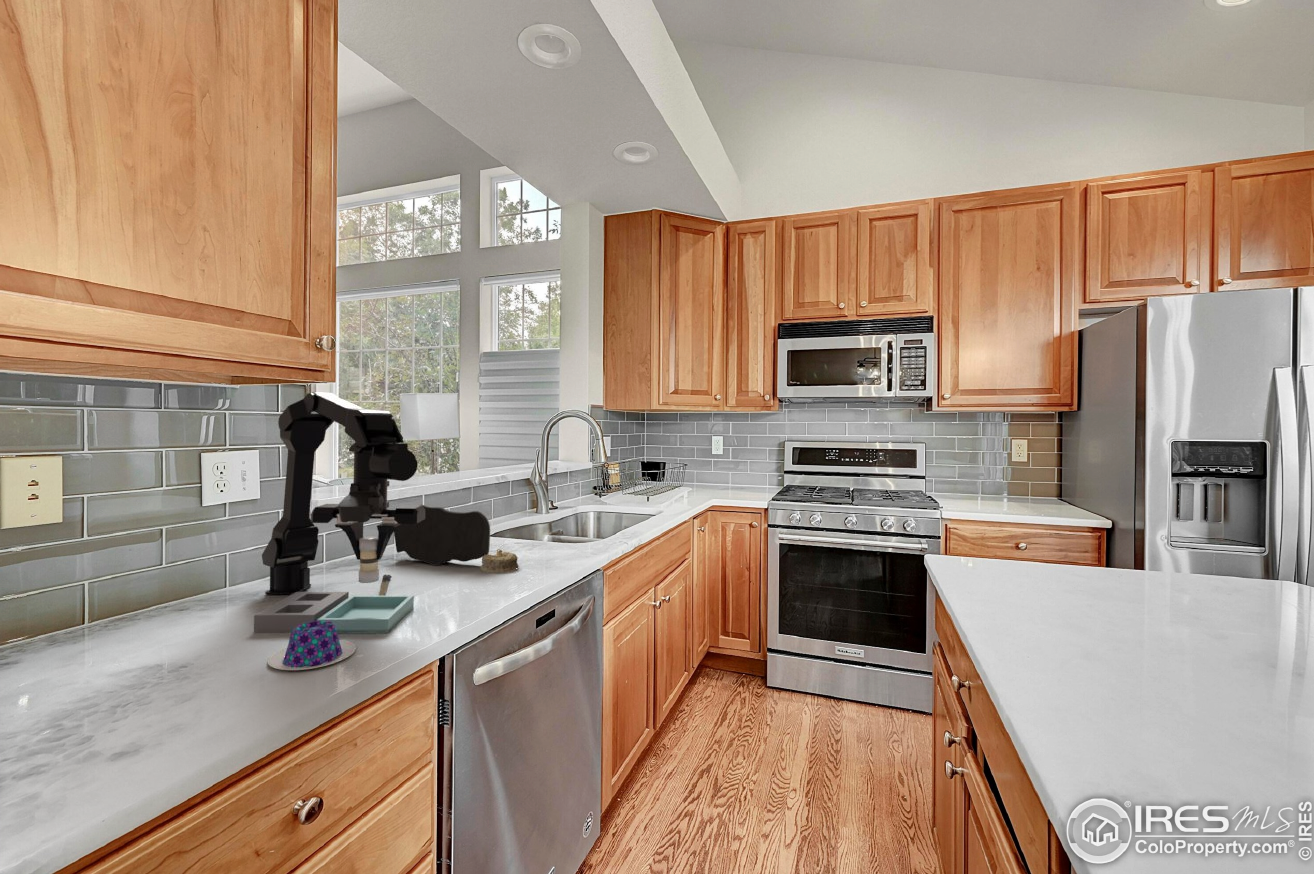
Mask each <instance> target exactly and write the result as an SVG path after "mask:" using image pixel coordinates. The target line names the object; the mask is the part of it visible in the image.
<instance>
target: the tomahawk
mask: <svg viewBox="0 0 1314 874" xmlns="http://www.w3.org/2000/svg"><path fill="white" fill-rule="evenodd" d="M391 578H393V577H392V575H391V574H383V575H382V579H381V584H380V589H379V592H378V594H377V596H386V593H387V590H388V587H389V584H390V581H391Z"/></svg>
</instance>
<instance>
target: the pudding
mask: <svg viewBox="0 0 1314 874" xmlns="http://www.w3.org/2000/svg"><path fill="white" fill-rule="evenodd" d="M356 648H357V646H356V645H355V643H353V642H350V641H347V640H343V639H342V640H341V639H340V638H339V635H338V634H337V630H336V627H335V625H334V624H332V622H330V621H314V622H307V623H303V624H302V625H298V626H296V627H295V628H294V629H293V631H292V632H290V637H289V641H288V643H287V647H285V648H283V649H281V650H279V651H276V652H275V653H273V654H272V655H271V656H270V657H269V658H268V659H267V664H268V665H269V666H270V667H271V668H274V669H276V670H283V671H302V670H311V669H312V670H313V669H318V668H321V667H325V666H330V665H332V664H336V663H338V662H340V661H343V660H345V659H347V658H348V657H350V656H352V655H353V654H354V653H355V651H356ZM284 656H285V657H284ZM308 666H309V667H308ZM289 667H291V668H289ZM294 667H295V668H294ZM297 667H300V668H297ZM307 667H308V668H307Z"/></svg>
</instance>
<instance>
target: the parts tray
mask: <svg viewBox="0 0 1314 874" xmlns="http://www.w3.org/2000/svg"><path fill="white" fill-rule="evenodd" d="M414 597H415V595H385V596H378V595H351V596H349V598H348V599H346V600H345V601H343V602H342V603H340V604H339V605H338V606H336V607H335V608H333V609H332V610H330V611H329V612H327V613H326V614H325V615H323V616H322V617H320V618H319V619H317V621H330V622H332V624H334V625H335V627H336V630H337V634H339V635H340V634H343V635H344V634H389V633H390V632H391V631H392V630H393V629H394V628H395V627H396V626H397V624H399V622H401V621H402V620H403V619H404V618H405V617H406V616H407V614H409V613H410V612H411V611H412V610H413V609H414V605H415V604H414V601H415V600H414V599H415V598H414Z"/></svg>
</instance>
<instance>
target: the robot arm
mask: <svg viewBox="0 0 1314 874" xmlns="http://www.w3.org/2000/svg"><path fill="white" fill-rule="evenodd" d="M393 417H394V416H393V414H392V413H391V412H390V411H388V410H381V409H373V408H372V409H370V408H369V409H368V408H363V407H360V406H358V405H356V404H354V403H351V402H349V401H347V400H346V399H343V398H341V397H338V396H337V395H336V394H333V392H317V391H311V392H308V393H307V394H306V395H305V396H304V398H302V399H300V400H298V401H296V402H294V403H292V404H290V405H288V406H287V407H286V408H285V409H284V410H283V411H282V413H281V414H280V415H279V418H278V422H277V423H278V424H277V425H278V428H279V437H280V439H281V441H282V442H283V444H284V446H285V448H286V449H287V460H286V472H285V473H286V474H285V485H284V486H285V487H284V497H283V498H284V499H283V510H282V512H283V513H282V517H281V518H280V519H279V520H278V522H277V523H276V524H275V525H274V526H273V529H272V532H271V539H270V540H269V542H268V543H267V545H266V547H265V548H264V550H263V552H262V554H261V558H262V565H264V566H267V567H269V589H268V590H266V591H265V592H264V593H265V595H291V594H293V593H295V592H304V591H305V590H307V589H309V588H310V587H312V583H311V581H310V580H311V579H310V578H311V577H310V576H311V575H310V574H311V568H310V567H309V566H308V565H309V562H310V561H315V559H316V555H317V551H318V546H319V528H318V526H317V525H316V526H315V524H330V522H331V521H333V519H336V523H335V524H334V526H335V528H340V529H341V530H342V531H343V532H344V533H345V534H346V537H348V538H347V539H348V540H349V542H350V544H351V545H350V546H351V547H352V550H353V552H354V555H355V558H356V560H358V561H360V550H359V539H360V538H363V537H364V523H366V522H369V520H371V519H373V520H374V519H376V520H379V519H381V523H380V524H377V525H376V528H377V532H378V533H377V537H378V544H377V560H378V561H380V560H381V559H382V557H384V556H383V555H384V553H385V550H386V548H387V547H388V544H389V541H390V540H391V537H392V536H393V535H394V530H395V528H396V527H397V526H399V525H401V524H417V523H419V522H421V521H422V520H424V519H425V508H424V507H423V506H422V505H423V504H403V505H401V506H398V507H396V508H389V507H390V502H389V501H388V487H390V481H391V480H392V481H399V482H405V481H408V480H409V479H411V478H412V477H414V475H415V474H416V472H417V470H418V466H419V465H418V464H419V463H418V459H417V458H416V456H415V454H414V453H413V452H412V451H411V450H409V449H408V448H409V446H408V445H409V444H408V443H407V442H404V436H403V434H402V433H401V431H400V430H399V427H398V425H397V423H396V420H395V419H394V418H393ZM334 422H335V423H337V424H339V425H341V426H343V427H344V433H345V434H346V435H347V436H348V437H350V438H351V439H352V440H353V441H354V443H353V444H352V445H351V446H350V447H349V448H348V451H349V452H350V453H353V482H352V483H350V487H349V492H348V495H345V496H344V498H343V499H341V501H340V502H339V503H325V504H321V505H319V506H315V507H314V508H313V509H312V511H311V503H312V502H311V501H312V489H313V477H314V466H315V465H314V464H315V454H316V451H317V450H318V449H319V447H320V446H321V445H322V444H323V442H324V441H325V439H326V434H327V430H328V429H329V428H330V427H331V426H332V424H333V423H334Z"/></svg>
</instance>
